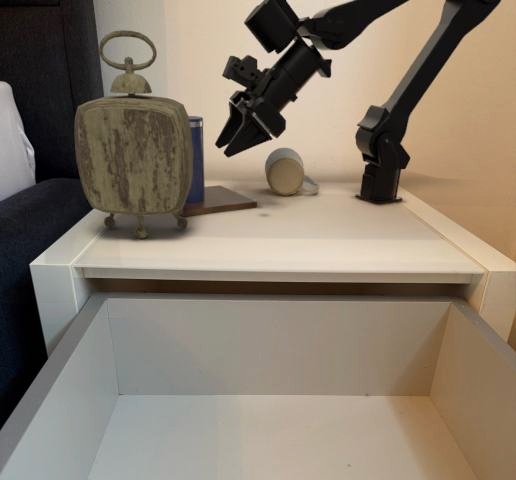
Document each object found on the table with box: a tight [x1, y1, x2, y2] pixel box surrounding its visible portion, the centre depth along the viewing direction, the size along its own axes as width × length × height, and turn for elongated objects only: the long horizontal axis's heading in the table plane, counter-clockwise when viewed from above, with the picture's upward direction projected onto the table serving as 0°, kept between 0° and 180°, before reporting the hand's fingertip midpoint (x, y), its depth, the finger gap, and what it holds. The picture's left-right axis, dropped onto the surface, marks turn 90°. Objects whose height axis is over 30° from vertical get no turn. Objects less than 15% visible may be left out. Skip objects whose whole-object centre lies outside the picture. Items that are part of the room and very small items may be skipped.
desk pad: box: [177, 184, 258, 217], centre depth 89 cm, size 14×14×1 cm
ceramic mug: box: [264, 147, 320, 196], centre depth 96 cm, size 11×8×8 cm
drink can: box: [185, 115, 206, 203], centre depth 84 cm, size 6×6×13 cm
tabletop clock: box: [73, 29, 193, 240], centre depth 66 cm, size 14×9×25 cm, turn 92°
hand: (220, 150), depth 84 cm, fingers open, 9 cm apart
